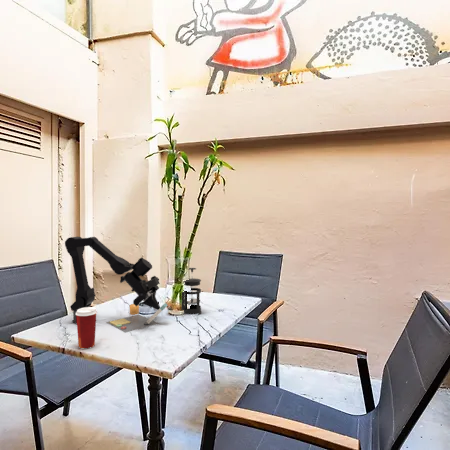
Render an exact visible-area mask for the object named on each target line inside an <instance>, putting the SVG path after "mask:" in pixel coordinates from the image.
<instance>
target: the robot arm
mask: <svg viewBox="0 0 450 450" xmlns="http://www.w3.org/2000/svg"><path fill="white" fill-rule="evenodd" d="M64 247H65V249H66V252H67V253H68V255H70V257H71V261H72V267H73V272H74V277H75V278H74V279H75V283H76V287H77V288H76V291H75V301H74V302H72V304H71V305H70V306H69V308H70V310H71V311H72V314H73V315H72V316H73V318H72V320H71V322H73V324H75V325H77V317H76V315H75V314H76V312H77V310H78V309H80V308H85V307H92V304H93V302H94V301H95V299H96V298H95V297H96V294H95V293H96V292H95V288H94V287H91V286H90V285H89V281H88V276H87V271H86V265H85V260H84V252H85V247H89V248H91V249H92V250H93V251H94V252H96V253H97V254H98V255H99V256H100V257H101V258H103V259H104V260H105V261H106V262H107V264H109V267H110V269H111V270H112V271H113V273H114V274H116V275H120V276H119V277H120V280H119V283H120V284H122V283H124V282H126V283H127V285H128V286H129V287H130V288H131V292H132V293H133V292H134V293H135V294H136V295H137V296H136V297H135V299H133V301H132V304H134V305H135V306H138V305H139V306H140V304H141V305H146V306H148V307H150V308H153V309H155V310H156V311H158V310H159V309H160V307H161V306H160V304H159V302H158V299H157V297H156V294H157V291H158V290H159V289H160V287H159V286H158V285H160V278H159V277H157V276H156V275H153V276H151V277H150V279H149V280H146V279H142V278H141V277H144V276H145V275H147V273H149V272H150V270H152V269H153V265H152V264H151V262H150V261H148V260H147V259H144V257H142V256H141V257H140V258H138V260H137V261H136V262H135V263H133V262H132V263H131V262H129V261H128V260H126V259H125V258H123V257H121V256H118V255H117V254H115V252H114V251H112V250H111V249H109V247H107V246H105V244H103V243H102V242H101V240H99V239H98V238H97V237H95V236H90V237H84V238H83V237H81V236H71V237H68V238H66V239H65V241H64ZM123 274H124V275H123Z"/></svg>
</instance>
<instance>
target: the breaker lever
mask: <svg viewBox="0 0 450 450" xmlns="http://www.w3.org/2000/svg"><path fill="white" fill-rule="evenodd" d="M167 307H168V304H167V303H166V302H165V303H163V304H162V305H161V306H160V309H159V310H156V311H155V312H154V313H153V315H150V317H149V318H148V320H147V321H146V322H147V323H148V324H149V323H150V322H151V321H152V320H153V321H154V320H155V319H156V318H157V316H159V315H160V314H161V313H162V312H163V311H164V310H165V309H166V308H167Z"/></svg>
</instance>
